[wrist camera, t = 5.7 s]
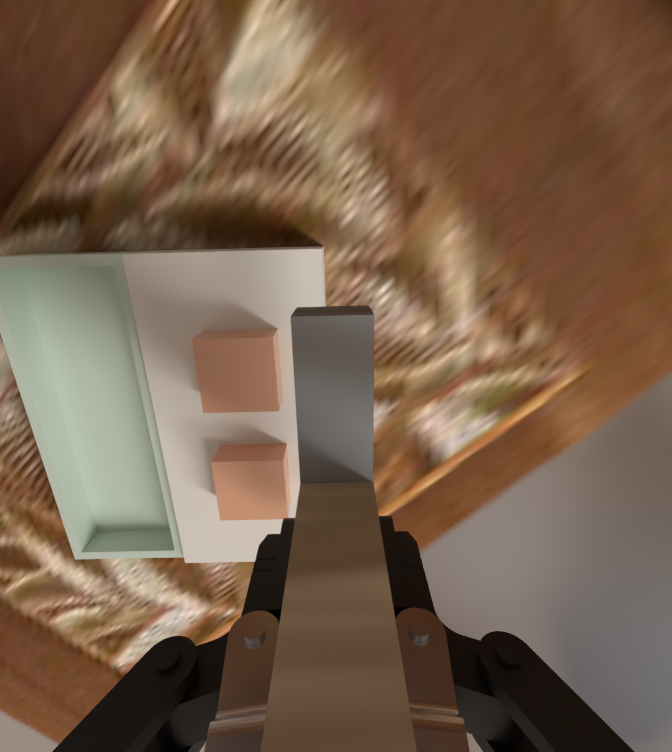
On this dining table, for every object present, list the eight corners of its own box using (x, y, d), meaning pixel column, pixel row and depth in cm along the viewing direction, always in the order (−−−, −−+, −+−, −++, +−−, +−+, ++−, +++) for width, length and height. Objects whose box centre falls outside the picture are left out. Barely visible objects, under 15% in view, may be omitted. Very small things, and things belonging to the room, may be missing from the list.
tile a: (203, 330, 21) (191, 339, 19) (277, 328, 21) (272, 337, 19) (213, 399, 23) (203, 413, 21) (283, 397, 22) (278, 411, 21)
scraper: (296, 307, 14) (209, 439, 4) (368, 305, 14) (445, 434, 4) (313, 616, 18) (288, 1026, 9) (368, 614, 18) (404, 1025, 8)
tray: (12, 254, 23) (-25, 257, 20) (144, 250, 23) (122, 253, 20) (95, 533, 30) (75, 559, 27) (196, 531, 30) (184, 557, 27)
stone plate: (148, 250, 23) (121, 254, 20) (323, 246, 22) (322, 248, 20) (199, 530, 30) (185, 562, 27) (333, 528, 29) (333, 559, 27)
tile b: (220, 445, 24) (210, 462, 22) (286, 443, 24) (283, 460, 22) (228, 500, 25) (220, 520, 23) (291, 499, 25) (288, 519, 23)
